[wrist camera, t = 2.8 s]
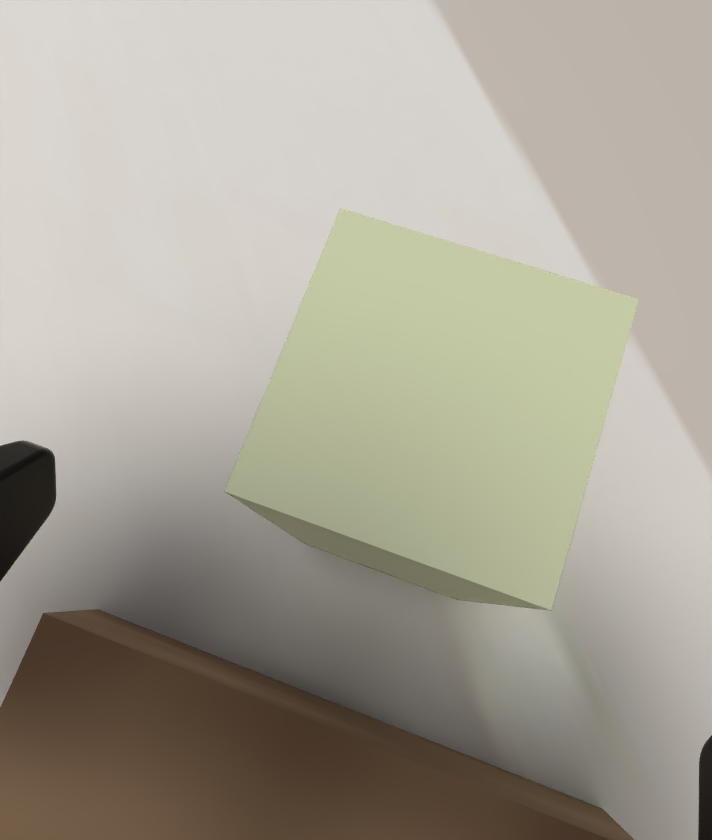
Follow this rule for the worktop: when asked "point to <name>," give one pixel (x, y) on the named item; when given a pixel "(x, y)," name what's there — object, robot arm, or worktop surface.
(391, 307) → the block
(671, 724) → the worktop surface
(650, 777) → the worktop surface
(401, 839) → the base
